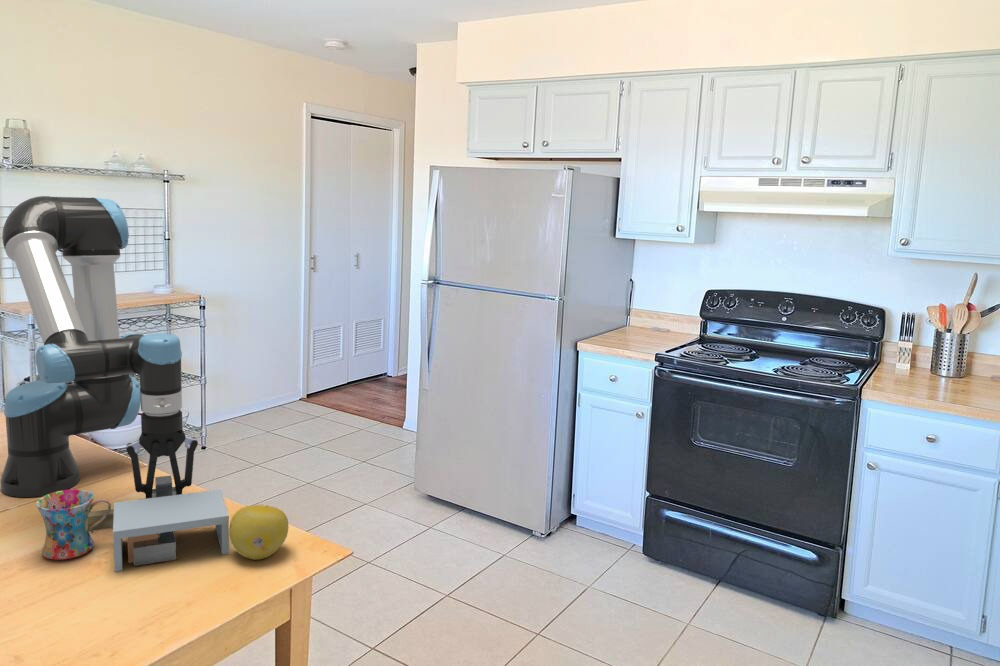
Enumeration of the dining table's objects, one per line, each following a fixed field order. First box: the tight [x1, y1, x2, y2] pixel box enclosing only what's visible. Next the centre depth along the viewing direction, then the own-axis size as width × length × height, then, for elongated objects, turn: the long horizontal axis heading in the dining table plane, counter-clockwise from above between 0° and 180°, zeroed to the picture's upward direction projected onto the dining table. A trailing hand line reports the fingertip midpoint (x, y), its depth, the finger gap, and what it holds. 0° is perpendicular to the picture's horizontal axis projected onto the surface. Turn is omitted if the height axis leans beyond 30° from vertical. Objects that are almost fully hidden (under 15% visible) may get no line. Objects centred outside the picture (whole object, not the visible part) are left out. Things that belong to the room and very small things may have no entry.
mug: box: [35, 488, 112, 561], centre depth 136 cm, size 12×9×11 cm
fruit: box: [229, 503, 289, 561], centre depth 139 cm, size 10×11×10 cm
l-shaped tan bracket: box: [88, 508, 114, 531], centre depth 145 cm, size 10×3×7 cm, turn 117°
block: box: [127, 533, 159, 564], centre depth 136 cm, size 5×5×5 cm
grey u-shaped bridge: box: [112, 489, 230, 573], centre depth 139 cm, size 13×19×8 cm
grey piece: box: [133, 475, 177, 567], centre depth 141 cm, size 19×7×9 cm, turn 27°
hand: (164, 519), depth 149 cm, fingers closed on grey piece, 3 cm apart
